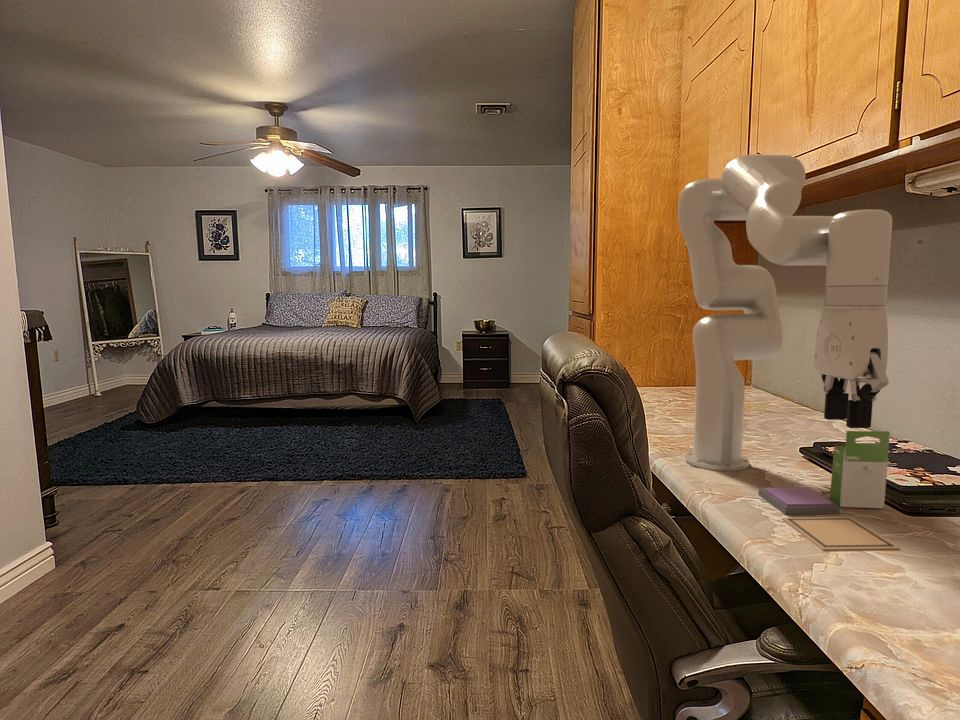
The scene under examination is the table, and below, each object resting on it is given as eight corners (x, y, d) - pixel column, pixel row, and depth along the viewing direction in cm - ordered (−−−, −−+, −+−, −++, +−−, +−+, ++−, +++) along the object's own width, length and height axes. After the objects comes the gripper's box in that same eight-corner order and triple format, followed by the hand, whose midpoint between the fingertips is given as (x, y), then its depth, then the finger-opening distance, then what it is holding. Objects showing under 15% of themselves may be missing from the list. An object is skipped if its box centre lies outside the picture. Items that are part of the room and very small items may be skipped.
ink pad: (758, 494, 104) (758, 486, 104) (808, 493, 104) (808, 486, 104) (784, 514, 95) (785, 505, 95) (839, 513, 95) (840, 505, 95)
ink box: (872, 501, 100) (878, 426, 98) (884, 510, 96) (891, 431, 95) (829, 499, 101) (834, 424, 99) (839, 508, 97) (845, 430, 96)
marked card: (782, 519, 93) (782, 517, 93) (850, 518, 93) (850, 516, 93) (822, 550, 82) (823, 548, 82) (899, 549, 82) (900, 547, 82)
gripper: (796, 298, 91) (790, 411, 93) (868, 300, 74) (858, 438, 77) (843, 297, 91) (836, 410, 93) (926, 299, 74) (915, 437, 77)
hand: (846, 422), depth 85 cm, fingers open, 4 cm apart
